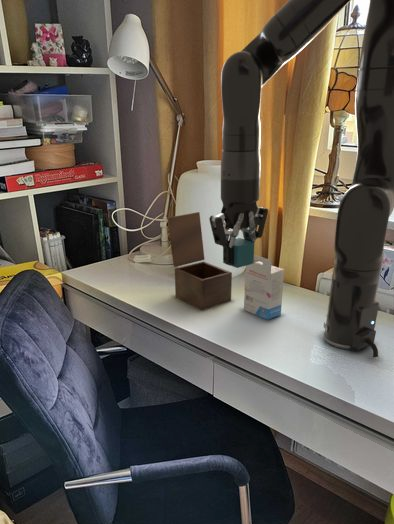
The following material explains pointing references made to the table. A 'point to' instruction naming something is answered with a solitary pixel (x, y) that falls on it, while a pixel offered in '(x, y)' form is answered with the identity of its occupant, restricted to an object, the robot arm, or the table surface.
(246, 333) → the table surface
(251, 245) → the block
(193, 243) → the chest lid
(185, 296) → the chest
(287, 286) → the table surface
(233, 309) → the table surface
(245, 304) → the ink box
